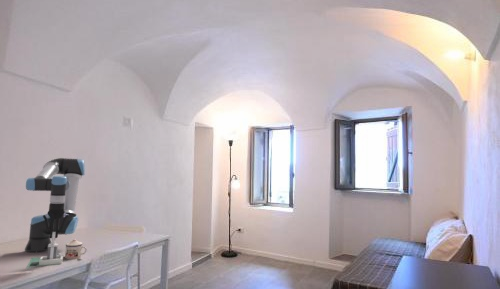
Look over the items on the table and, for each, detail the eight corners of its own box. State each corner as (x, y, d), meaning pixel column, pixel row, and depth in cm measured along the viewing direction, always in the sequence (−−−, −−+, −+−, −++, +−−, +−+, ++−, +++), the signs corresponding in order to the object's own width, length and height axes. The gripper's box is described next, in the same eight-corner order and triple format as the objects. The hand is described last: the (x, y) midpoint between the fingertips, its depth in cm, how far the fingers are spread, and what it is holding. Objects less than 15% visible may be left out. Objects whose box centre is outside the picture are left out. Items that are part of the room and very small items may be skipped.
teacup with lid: (62, 260, 188) (64, 241, 189) (66, 256, 197) (68, 237, 198) (84, 260, 191) (85, 241, 192) (87, 256, 200) (89, 237, 201)
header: (40, 261, 182) (41, 256, 182) (62, 259, 187) (63, 255, 187) (38, 265, 175) (39, 260, 175) (61, 263, 180) (62, 258, 180)
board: (31, 260, 187) (32, 254, 187) (62, 258, 194) (63, 252, 194) (26, 269, 171) (26, 263, 171) (60, 266, 178) (60, 260, 178)
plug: (47, 261, 182) (48, 243, 183) (56, 260, 184) (57, 243, 185) (46, 263, 178) (48, 245, 179) (55, 263, 180) (57, 245, 181)
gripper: (43, 203, 178) (38, 246, 176) (69, 203, 183) (65, 244, 181) (44, 202, 184) (40, 243, 182) (70, 202, 190) (66, 241, 188)
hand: (53, 243), depth 182 cm, fingers closed
